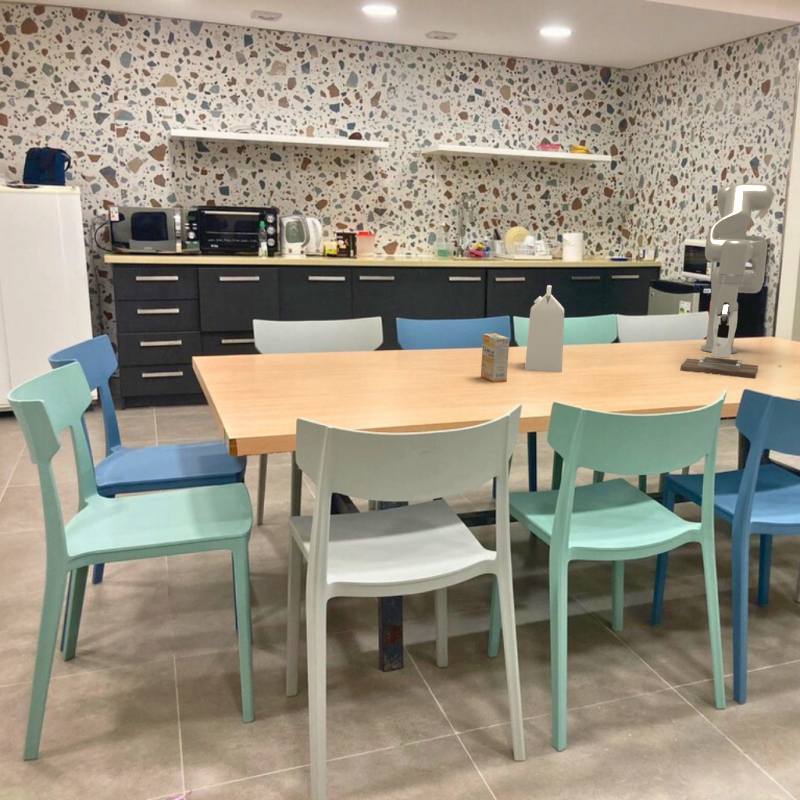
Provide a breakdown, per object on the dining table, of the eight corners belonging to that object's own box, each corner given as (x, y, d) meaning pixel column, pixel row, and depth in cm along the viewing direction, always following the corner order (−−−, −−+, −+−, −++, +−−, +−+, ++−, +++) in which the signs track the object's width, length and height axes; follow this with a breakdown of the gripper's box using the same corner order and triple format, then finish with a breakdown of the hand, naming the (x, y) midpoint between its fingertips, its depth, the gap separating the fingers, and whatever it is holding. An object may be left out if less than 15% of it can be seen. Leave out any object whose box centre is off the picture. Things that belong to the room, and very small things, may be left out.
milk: (561, 372, 237) (568, 288, 231) (524, 369, 239) (530, 286, 233) (561, 365, 249) (568, 285, 243) (526, 363, 251) (531, 283, 245)
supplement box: (479, 376, 227) (482, 333, 224) (494, 376, 228) (496, 333, 225) (492, 382, 219) (495, 337, 216) (507, 381, 221) (510, 337, 218)
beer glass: (734, 358, 242) (740, 311, 239) (711, 357, 243) (717, 310, 240) (730, 355, 249) (735, 309, 245) (707, 353, 250) (713, 308, 247)
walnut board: (686, 362, 259) (687, 354, 258) (757, 370, 249) (758, 361, 248) (680, 370, 245) (681, 361, 244) (754, 378, 235) (756, 368, 235)
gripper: (720, 277, 249) (713, 331, 254) (715, 281, 234) (708, 338, 239) (745, 279, 246) (738, 334, 250) (741, 282, 231) (733, 340, 235)
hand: (723, 335), depth 244 cm, fingers closed on beer glass, 6 cm apart
